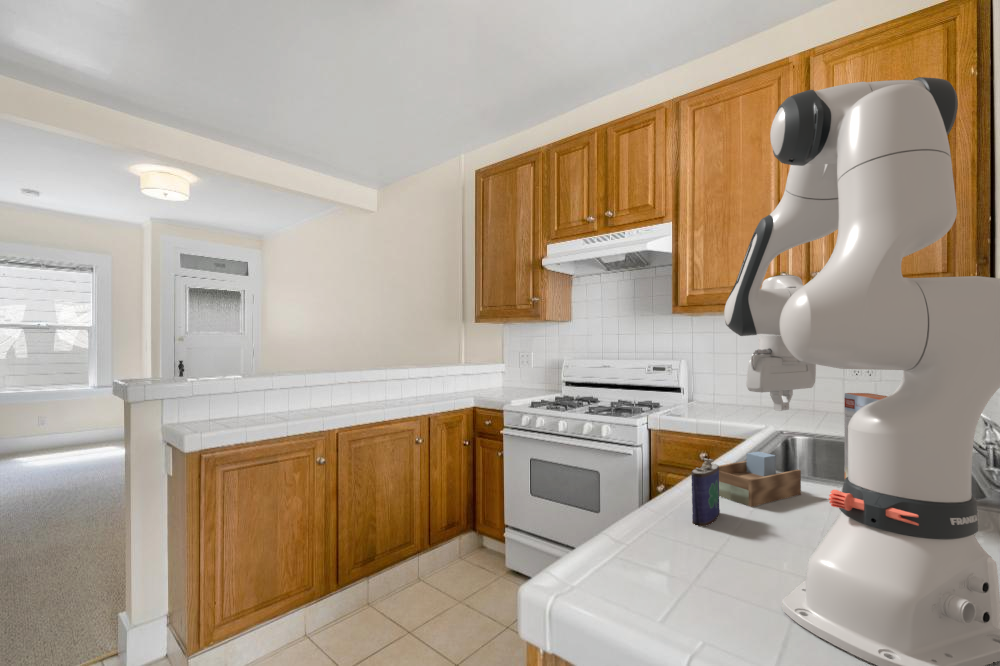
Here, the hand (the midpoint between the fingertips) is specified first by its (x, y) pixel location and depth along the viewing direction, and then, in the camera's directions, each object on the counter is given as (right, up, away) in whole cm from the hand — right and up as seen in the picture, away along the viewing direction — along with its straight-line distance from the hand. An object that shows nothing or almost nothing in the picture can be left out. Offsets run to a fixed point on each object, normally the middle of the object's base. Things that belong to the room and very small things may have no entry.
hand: (781, 410), depth 106 cm
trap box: (-11, -16, -8) cm, 21 cm away
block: (-7, -13, -4) cm, 15 cm away
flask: (-27, -16, -22) cm, 38 cm away
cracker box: (+11, -16, -14) cm, 24 cm away
